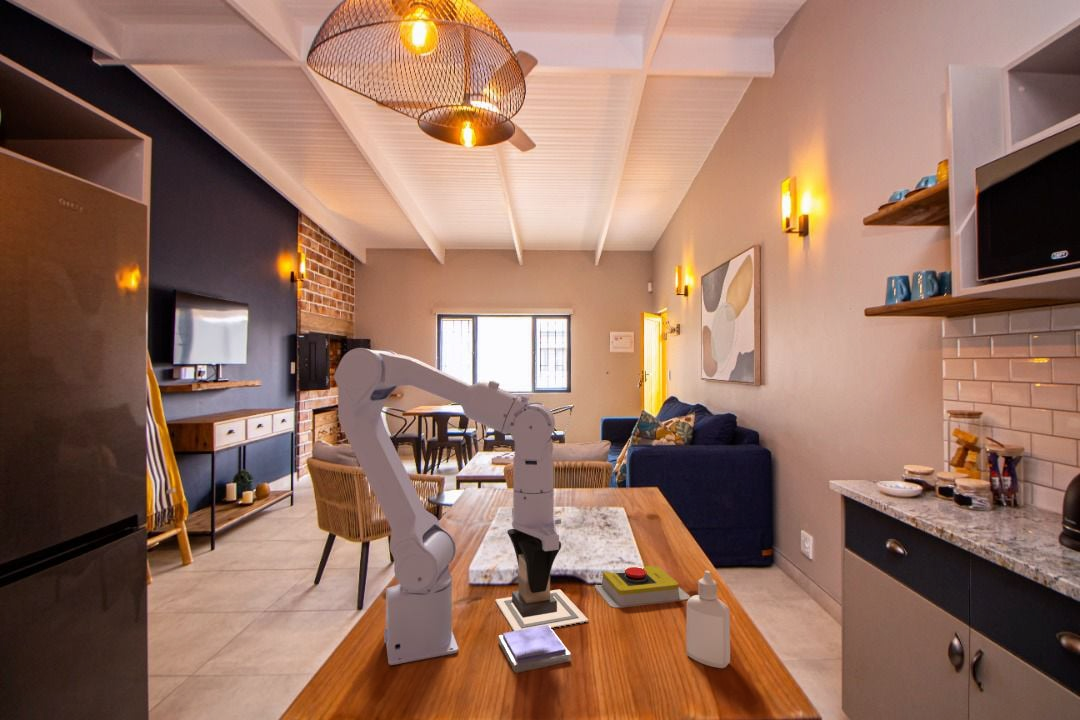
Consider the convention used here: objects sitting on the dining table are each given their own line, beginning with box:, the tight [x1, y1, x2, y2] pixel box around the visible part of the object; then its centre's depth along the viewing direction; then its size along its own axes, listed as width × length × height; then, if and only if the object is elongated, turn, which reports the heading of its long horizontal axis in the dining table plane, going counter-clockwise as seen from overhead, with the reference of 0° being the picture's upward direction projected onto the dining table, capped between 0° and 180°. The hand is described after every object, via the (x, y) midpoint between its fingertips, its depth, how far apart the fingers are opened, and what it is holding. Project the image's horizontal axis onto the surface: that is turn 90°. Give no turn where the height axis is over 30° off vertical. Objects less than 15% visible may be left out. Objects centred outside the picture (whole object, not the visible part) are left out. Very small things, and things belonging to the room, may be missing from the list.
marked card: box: [495, 588, 590, 631], centre depth 84 cm, size 12×12×1 cm
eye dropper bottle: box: [685, 570, 731, 669], centre depth 71 cm, size 4×6×12 cm
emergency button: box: [594, 565, 691, 609], centre depth 92 cm, size 9×4×15 cm
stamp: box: [511, 554, 557, 618], centre depth 73 cm, size 5×5×7 cm
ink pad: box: [498, 625, 572, 674], centre depth 72 cm, size 8×8×2 cm
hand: (533, 585), depth 73 cm, fingers closed on stamp, 3 cm apart
